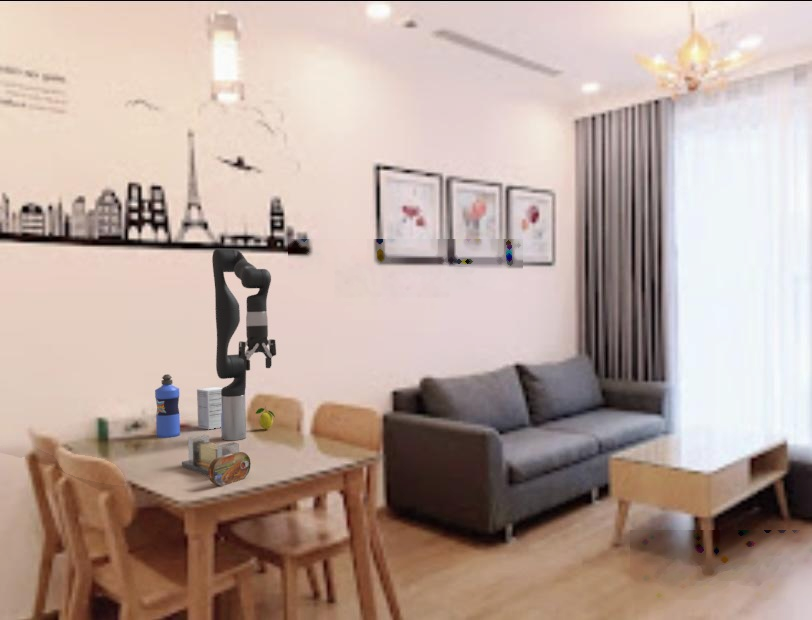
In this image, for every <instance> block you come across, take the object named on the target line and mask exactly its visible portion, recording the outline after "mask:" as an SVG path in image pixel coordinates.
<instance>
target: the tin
mask: <svg viewBox="0 0 812 620" xmlns="http://www.w3.org/2000/svg"><path fill="white" fill-rule="evenodd" d="M251 466H252V465H251V459H250V457H249V455H248V454H247V453H246V452H244V451H239V452H235V453H231V454H228V455H225V456H222V457H218V458H216V459H214V460H213V461H212V462H211V464H210V466H209V476H208V480H209V481H210V482H211V483H212V484H214V485H216V486H221V487H223V486H227V485H230V484H233V483H235V482H238V480H239V481H242V480H244V479H245V478H247V476H248V475H249V473H250V470H251ZM232 482H233V483H232Z"/></svg>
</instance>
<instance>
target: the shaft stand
mask: <svg viewBox="0 0 812 620" xmlns="http://www.w3.org/2000/svg"><path fill="white" fill-rule="evenodd" d="M187 442H188V443H187V444H188V460H184V461H181V467H183V468H187V469H189V470H192V471H195V472H197V473H200V474H202V475H203V474H204V475H205V474H206V476H208V475H209V465H206V464H203V463H200V462H199V444H201V443H207V442H210V435H208V434H201V435H200V434H198V435H195V436H194V435H193V436H188V441H187ZM235 452H240V443H238V442H229V443H224V444H218V446H217V458H218V457H222V456H225V455H228V454H231V453H235Z"/></svg>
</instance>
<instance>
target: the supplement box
mask: <svg viewBox="0 0 812 620" xmlns="http://www.w3.org/2000/svg"><path fill="white" fill-rule="evenodd" d="M222 388H223V387H217V386H213V387H212V386H211V387H205V388H197V389H196V394H197V395H196V399H197V400H196V401H197V403H196V405H197V427H198V429H203V430H207V429H208V431H210V430H209V429H211V430H215V429H214V428H216V429H221V428H220V427H221V414H222V403H221V390H222Z"/></svg>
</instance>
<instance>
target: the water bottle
mask: <svg viewBox="0 0 812 620" xmlns="http://www.w3.org/2000/svg"><path fill="white" fill-rule="evenodd" d="M161 379H162V380H161V386H159V387H158V388H156V389H155V390H154V398H155V401H156V414H155V415H156V416H155V417H156V419H155V420H156V422H155V425H156V427H155V428H156V437H157V438H159V439H168V438H169V439H170V438H175V437H179V436H181V423H180V422H181V421H180V419H181V418H180V410H179V409H180V408H179V404H180V403H179V400H180V388H179V387H176V386H174V385H173V383H174V382H173V379H172V376H171V375H170V374H164V375H162V377H161Z"/></svg>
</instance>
